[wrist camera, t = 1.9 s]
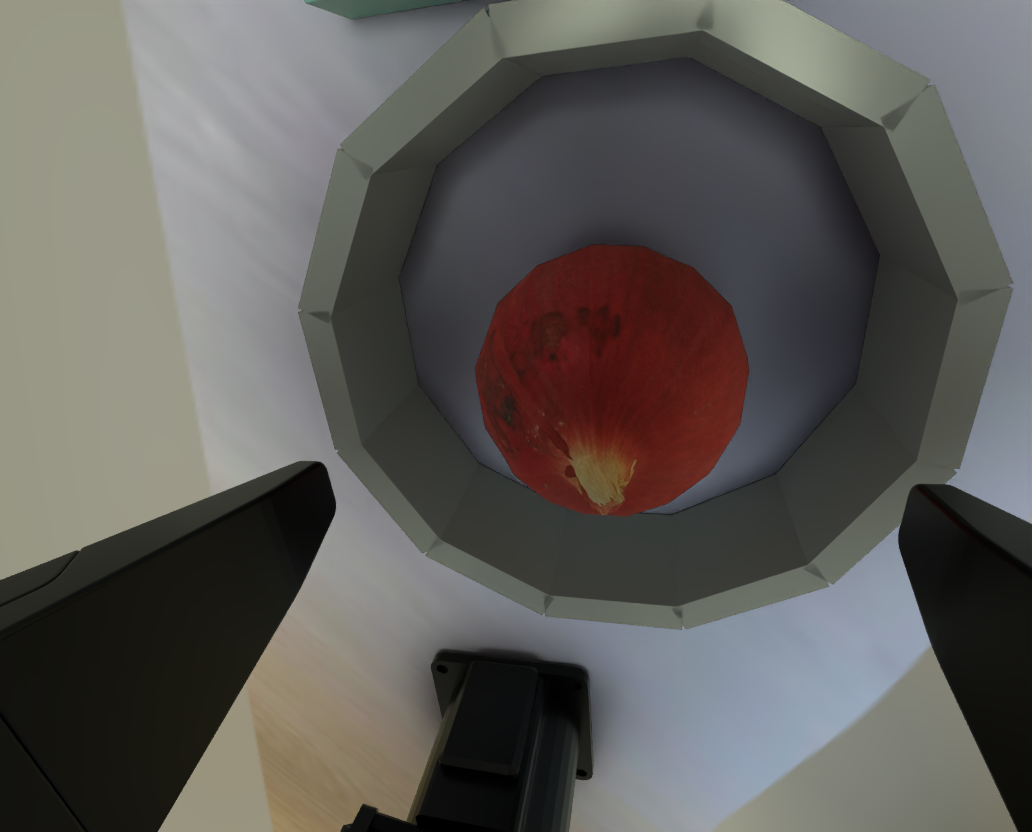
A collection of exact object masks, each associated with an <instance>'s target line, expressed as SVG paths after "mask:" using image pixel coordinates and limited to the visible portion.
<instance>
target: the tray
mask: <svg viewBox="0 0 1032 832" xmlns="http://www.w3.org/2000/svg"><path fill="white" fill-rule="evenodd" d="M304 1H305V3H307V4H310V5H312V6H315V7H318V8H321V9H324V10H326V11H329V12H332V13H335V14H338V15H341V16H343V17H346V18H349V19H357V18H363V17H369V16H375V15H381V14H387V13H393V12H399V11H405V10H411V9H417V8H423V7H429V6H435V5H441V4H447V3H453V2H459V1H465V0H304Z"/></svg>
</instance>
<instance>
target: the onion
mask: <svg viewBox="0 0 1032 832" xmlns="http://www.w3.org/2000/svg"><path fill="white" fill-rule="evenodd" d="M475 372H476V383H477V388H478V393H479V398H480V403H481V408H482V413H483V418H484V423H485V428H486V430H487V431H488V433H489V434H490V436H491V438H492V439H493V441H494V442H495V444H496V445H497V447H498V449H499V450H500V452H501V453H502V455H503V456H504V458H505V460H506V461H507V463H508V465H509V467H510V469H511V471H512V473H513V474H514V475H515V476H516V477H517V478H518V479H520V480H521V481H522V482H523V483H525V484H526V485H527V486H529V487H530V488H531V489H533V490H534V491H535V492H537V493H538V494H539V495H541V496H542V497H543V498H544V499H546V500H547V501H548V502H551V503H554V504H557V505H560V506H563V507H566V508H568V509H571V510H574V511H577V512H580V513H583V514H594V515H612V516H622V517H627V516H630V515H633V514H637V513H640V512H643V511H646V510H649V509H652V508H656V507H659V506H662V505H665V504H667V503H669V502H671V501H673V500H674V499H675V498H677V497H678V496H680V495H681V494H682V493H684V492H685V491H686V490H688V489H689V488H690V487H692V486H693V485H695V484H696V483H697V482H699V481H700V480H701V479H703V478H704V477H706V476H707V475H708V474H709V473H710V471H711V470H712V469H713V467H714V466H715V465H716V463H717V461H718V460H719V458H720V456H721V455H722V453H723V451H724V450H725V448H726V446H727V445H728V443H729V442H730V440H731V439H732V437H733V436H734V434H735V432H736V430H737V429H738V427H739V425H740V422H741V416H742V410H743V404H744V398H745V392H746V387H747V381H748V375H749V366H748V357H747V354H746V351H745V348H744V344H743V341H742V338H741V335H740V331H739V328H738V325H737V322H736V318H735V315H734V312H733V309H732V306H731V305H730V304H729V303H728V302H727V301H726V300H725V299H724V298H723V297H722V296H721V295H720V294H719V293H718V292H717V291H716V290H715V289H714V288H713V287H712V286H711V285H710V284H709V283H708V282H707V281H706V280H705V279H704V278H703V277H702V276H701V275H700V274H699V273H698V272H697V271H696V270H695V269H694V268H693V267H691V266H689V265H686V264H683V263H681V262H678V261H676V260H673V259H671V258H669V257H666V256H664V255H662V254H660V253H657V252H655V251H653V250H651V249H649V248H646V247H644V246H625V245H601V244H594V245H590V246H587V247H585V248H582V249H579V250H577V251H574V252H571V253H569V254H566V255H563V256H561V257H558V258H556V259H553V260H550V261H547V262H545V263H542V264H540V265H537V266H536V267H535V268H534V269H533V270H532V271H531V272H530V273H529V274H528V275H527V276H526V277H525V278H524V279H523V280H522V281H520V282H519V283H518V284H517V285H516V286H515V287H514V288H513V289H512V290H511V291H510V292H509V293H508V294H507V295H506V296H505V297H504V298H503V299H502V300H501V301H499V302H498V304H497V307H496V310H495V313H494V315H493V318H492V321H491V324H490V327H489V330H488V332H487V335H486V338H485V341H484V344H483V347H482V350H481V352H480V355H479V358H478V361H477V364H476V367H475Z"/></svg>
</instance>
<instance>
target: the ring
mask: <svg viewBox="0 0 1032 832" xmlns="http://www.w3.org/2000/svg"><path fill="white" fill-rule="evenodd" d="M488 6H489V11H488V10H486V9H485V8H482V9H481V10H480V11H479V12H478V13H477V14H476V15H475V16H473V17H472V18H471V19H470V20H469V21H468V22H467V23H466V24H465V25H464V26H463V27H462V28H461V29H460V30H459V31H458V32H457V33H456V34H455V35H454V36H453V37H452V38H451V39H450V40H448V41H447V42H446V43H445V44H444V45H443V46H442V47H441V48H440V49H439V50H438V51H437V52H436V53H435V54H434V55H433V56H432V57H431V58H430V59H429V60H428V61H427V62H426V63H425V64H424V65H422V66H421V67H420V68H419V69H418V70H417V71H416V72H415V73H414V74H413V75H412V76H411V77H410V78H409V79H408V80H407V81H406V82H405V83H404V84H403V85H402V86H401V87H400V88H399V89H397V90H396V91H395V92H394V93H393V94H392V95H391V96H390V97H389V98H388V99H387V100H386V101H385V102H384V103H383V104H382V105H381V106H380V107H379V108H378V109H377V110H376V111H375V112H374V113H372V114H371V115H370V116H369V117H368V118H367V119H366V120H365V121H364V122H363V123H362V124H361V125H360V126H359V127H358V128H357V129H356V130H355V131H354V132H353V133H352V134H351V135H350V136H349V137H347V138H346V139H345V140H344V141H343V142H342V143H341V144H340V145H341V147H342V148H343V149H338V150H337V154H336V158H335V162H334V166H333V170H332V174H331V178H330V182H329V186H328V190H327V194H326V198H325V202H324V206H323V210H322V214H321V218H320V222H319V226H318V230H317V234H316V238H315V242H314V246H313V250H312V254H311V258H310V262H309V266H308V270H307V274H306V278H305V282H304V286H303V290H302V294H301V298H300V302H299V307H298V308H299V309H301V310H302V311H300V312H298V313H299V317H300V321H301V325H302V328H303V332H304V336H305V339H306V343H307V347H308V351H309V354H310V358H311V362H312V366H313V369H314V373H315V377H316V381H317V384H318V388H319V392H320V395H321V399H322V403H323V407H324V410H325V414H326V418H327V422H328V425H329V429H330V433H331V436H332V440H333V444H334V448H335V450H339V451H338V452H337V454H338V455H339V456H340V457H341V458H342V460H343V461H344V462H345V463H346V464H347V465H348V467H349V468H350V469H351V470H352V471H353V472H354V474H355V475H356V476H357V477H358V478H359V480H360V481H361V482H362V483H363V484H364V485H365V487H366V488H367V489H368V490H369V491H370V492H371V494H372V495H373V496H374V497H375V498H376V500H377V501H378V502H379V503H380V504H381V505H382V507H383V508H384V509H385V510H386V511H387V512H388V514H389V515H390V516H391V517H392V518H393V520H394V521H395V522H396V523H397V524H398V525H399V527H400V528H401V529H402V530H403V531H404V532H405V534H406V535H407V536H408V537H409V538H410V540H411V541H412V542H413V543H414V544H415V545H416V547H417V548H418V549H419V550H420V551H421V552H422V553H425V552H427V553H426V555H425V556H427V557H429V558H431V559H433V560H435V561H437V562H439V563H440V564H442V565H444V566H446V567H448V568H450V569H452V570H454V571H456V572H458V573H460V574H462V575H464V576H466V577H468V578H470V579H472V580H474V581H476V582H478V583H480V584H482V585H484V586H486V587H487V588H489V589H491V590H493V591H495V592H497V593H499V594H501V595H503V596H505V597H507V598H509V599H511V600H513V601H515V602H517V603H519V604H521V605H523V606H525V607H527V608H529V609H531V610H533V611H535V612H536V613H538V614H540V615H543V613H544V612H545V616H547V617H557V618H568V619H578V620H588V621H598V622H608V623H618V624H629V625H639V626H649V627H659V628H669V629H680V630H682V625H683V626H684V627H685V629H689V628H692V627H696V626H699V625H702V624H706V623H709V622H712V621H716V620H719V619H722V618H726V617H729V616H732V615H736V614H739V613H742V612H746V611H749V610H753V609H756V608H759V607H763V606H766V605H769V604H773V603H776V602H779V601H783V600H786V599H789V598H793V597H796V596H799V595H803V594H806V593H809V592H813V591H816V590H820V589H823V588H826V587H829V585H828V582H829V583H831V584H834V583H835V582H836V581H837V580H839V579H840V578H841V577H842V576H843V575H844V574H845V573H846V572H847V571H849V570H850V569H851V568H852V567H853V566H854V565H855V564H856V563H857V562H859V561H860V560H861V559H862V558H863V557H864V556H865V555H866V554H867V553H869V552H870V551H871V550H872V549H873V548H874V547H875V546H876V545H877V544H878V543H880V542H881V541H882V540H883V539H884V538H885V537H886V536H887V535H888V534H890V533H891V532H892V531H893V530H894V529H895V528H896V527H897V526H898V525H900V524H901V521H902V517H903V513H904V510H905V506H906V502H907V498H908V494H909V492H910V490H911V488H912V487H913V486H914V485H916V484H945V483H946V482H947V481H948V480H949V479H951V478H952V477H953V476H954V475H955V474H956V473H957V472H956V471H955V470H954V469H960V466H961V462H962V459H963V455H964V452H965V449H966V445H967V442H968V439H969V435H970V432H971V429H972V425H973V422H974V418H975V415H976V412H977V408H978V405H979V402H980V398H981V395H982V392H983V388H984V385H985V382H986V378H987V375H988V371H989V368H990V365H991V361H992V358H993V355H994V351H995V348H996V345H997V341H998V338H999V334H1000V331H1001V328H1002V324H1003V321H1004V318H1005V314H1006V311H1007V308H1008V304H1009V301H1010V297H1011V294H1012V291H1013V288H1011V287H1008V285H1010V284H1012V283H1013V282H1012V279H1011V277H1010V274H1009V272H1008V269H1007V267H1006V264H1005V262H1004V259H1003V257H1002V254H1001V251H1000V249H999V246H998V244H997V241H996V239H995V236H994V234H993V231H992V229H991V226H990V224H989V221H988V219H987V216H986V213H985V211H984V208H983V206H982V203H981V201H980V198H979V196H978V193H977V191H976V188H975V186H974V183H973V181H972V178H971V175H970V173H969V170H968V168H967V165H966V163H965V160H964V158H963V155H962V153H961V150H960V148H959V145H958V143H957V140H956V138H955V135H954V132H953V130H952V127H951V125H950V122H949V120H948V117H947V115H946V112H945V110H944V107H943V105H942V102H941V100H940V97H939V94H938V92H937V89H936V87H935V85H929V86H926V85H927V84H928V83H929V81H930V79H928V78H926V77H924V76H922V75H920V74H918V73H917V72H915V71H913V70H911V69H909V68H907V67H905V66H904V65H902V64H900V63H898V62H896V61H894V60H892V59H891V58H889V57H887V56H885V55H883V54H881V53H879V52H877V51H876V50H874V49H872V48H870V47H868V46H866V45H864V44H863V43H861V42H859V41H857V40H855V39H853V38H851V37H850V36H848V35H846V34H844V33H842V32H840V31H838V30H836V29H835V28H833V27H831V26H829V25H827V24H825V23H823V22H822V21H820V20H818V19H816V18H814V17H812V16H810V15H809V14H807V13H805V12H803V11H801V10H799V9H797V8H795V7H794V6H792V5H790V4H788V3H786V2H784V1H782V0H513V1H507V2H501V3H495V4H488ZM685 57H690V58H692V59H694V60H696V61H698V62H700V63H702V64H703V65H705V66H707V67H709V68H711V69H713V70H715V71H717V72H718V73H720V74H722V75H724V76H726V77H728V78H730V79H732V80H733V81H735V82H737V83H739V84H741V85H743V86H745V87H747V88H748V89H750V90H752V91H754V92H756V93H758V94H760V95H762V96H763V97H765V98H767V99H769V100H771V101H773V102H775V103H777V104H778V105H780V106H782V107H784V108H786V109H788V110H790V111H792V112H793V113H795V114H797V115H799V116H801V117H803V118H805V119H807V120H808V121H810V122H812V123H814V124H816V125H818V126H820V127H821V128H822V130H823V132H824V135H825V137H826V139H827V141H828V143H829V145H830V148H831V150H832V152H833V154H834V156H835V158H836V161H837V163H838V165H839V167H840V169H841V171H842V174H843V176H844V178H845V180H846V182H847V184H848V187H849V189H850V191H851V193H852V195H853V197H854V200H855V202H856V204H857V206H858V208H859V210H860V213H861V215H862V217H863V219H864V221H865V223H866V226H867V228H868V230H869V232H870V234H871V236H872V239H873V241H874V243H875V245H876V247H877V249H878V252H879V254H880V259H879V264H878V270H877V275H876V280H875V286H874V291H873V296H872V302H871V307H870V312H869V318H868V323H867V328H866V333H865V339H864V344H863V349H862V355H861V360H860V365H859V371H858V376H857V381H856V384H855V385H854V387H853V388H852V389H851V390H850V391H849V392H848V393H847V394H846V396H845V397H844V398H843V399H842V400H841V401H840V402H839V403H838V405H837V406H836V407H835V408H834V409H833V410H832V411H831V412H830V414H829V415H828V416H827V417H826V418H825V419H824V420H823V421H822V423H821V424H820V425H819V426H818V427H817V428H816V429H815V431H814V432H813V433H812V434H811V435H810V436H809V437H808V438H807V440H806V441H805V442H804V443H803V444H802V445H801V446H800V447H799V449H798V450H797V451H796V452H795V453H794V454H793V455H792V456H791V458H790V459H789V460H788V461H787V462H786V463H785V464H784V465H783V467H782V468H781V469H780V470H779V471H778V472H777V473H776V474H775V475H772V476H770V477H767V478H764V479H762V480H759V481H757V482H754V483H752V484H749V485H747V486H744V487H742V488H739V489H737V490H734V491H732V492H729V493H727V494H724V495H722V496H719V497H716V498H714V499H711V500H709V501H706V502H704V503H701V504H699V505H696V506H694V507H691V508H689V509H686V510H684V511H681V512H679V513H676V514H673V515H664V514H645V513H637V514H633V515H630V516H627V517H622V516H612V515H594V514H583V513H580V512H577V511H574V510H569V509H567V508H565V507H563V506H560V505H557V504H554V503H551V502H548V501H547V500H546V499H544V498H543V497H542V496H541V495H539V494H538V493H536V492H534V491H532V490H530V489H528V488H526V487H524V486H522V485H520V484H518V483H516V482H514V481H512V480H510V479H508V478H506V477H504V476H503V475H501V474H499V473H497V472H495V471H493V470H491V469H489V468H487V467H485V466H483V465H481V464H479V462H478V461H477V460H476V458H475V457H474V456H473V455H472V453H471V452H470V451H469V449H468V448H467V447H466V445H465V444H464V443H463V442H462V440H461V439H460V438H459V436H458V435H457V434H456V432H455V431H454V430H453V429H452V427H451V426H450V425H449V423H448V422H447V421H446V419H445V418H444V417H443V415H442V414H441V413H440V412H439V410H438V409H437V408H436V406H435V405H434V404H433V402H432V401H431V400H430V399H429V397H428V396H427V395H426V393H425V392H424V391H423V389H422V388H421V387H420V386H419V384H418V381H417V376H416V370H415V365H414V359H413V354H412V348H411V343H410V337H409V332H408V326H407V321H406V315H405V310H404V304H403V299H402V294H401V288H400V283H399V275H400V272H401V270H402V267H403V264H404V261H405V258H406V255H407V252H408V249H409V246H410V243H411V240H412V237H413V234H414V231H415V228H416V226H417V223H418V220H419V217H420V214H421V211H422V208H423V205H424V202H425V199H426V196H427V193H428V190H429V187H430V184H431V182H432V179H433V176H434V173H435V170H436V167H437V164H438V163H439V162H441V161H442V160H443V159H444V158H445V157H446V156H448V155H449V154H450V153H451V152H452V151H454V150H455V149H456V148H457V147H458V146H460V145H461V144H462V143H463V142H464V141H465V140H467V139H468V138H469V137H470V136H471V135H473V134H474V133H475V132H476V131H477V130H478V129H480V128H481V127H482V126H483V125H484V124H486V123H487V122H488V121H489V120H490V119H491V118H493V117H494V116H495V115H496V114H497V113H499V112H500V111H501V110H502V109H503V108H504V107H506V106H507V105H508V104H509V103H510V102H512V101H513V100H514V99H515V98H516V97H517V96H519V95H520V94H521V93H522V92H523V91H525V90H526V89H527V88H528V87H529V86H530V85H532V84H533V83H534V82H535V81H536V80H538V79H539V78H540V77H541V76H546V75H553V74H561V73H569V72H577V71H584V70H592V69H600V68H608V67H615V66H623V65H631V64H639V63H646V62H654V61H662V60H670V59H677V58H685Z"/></svg>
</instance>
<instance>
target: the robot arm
mask: <svg viewBox="0 0 1032 832" xmlns="http://www.w3.org/2000/svg"><path fill="white" fill-rule="evenodd" d="M335 511H336V500H335V496H334V493H333V489H332V486H331V482H330V478H329V475H328V471H327V468H326V467H325V465H324V464H323V463H321V462H317V461H298V462H296V463H293V464H291V465H288V466H286V467H283V468H281V469H278V470H276V471H273V472H271V473H268V474H266V475H263V476H261V477H258V478H256V479H253V480H251V481H248V482H246V483H243V484H241V485H238V486H236V487H233V488H231V489H228V490H226V491H223V492H221V493H218V494H216V495H213V496H211V497H208V498H206V499H203V500H201V501H198V502H196V503H193V504H191V505H188V506H186V507H183V508H181V509H178V510H176V511H173V512H171V513H169V514H166V515H163V516H161V517H158V518H156V519H154V520H151V521H148V522H146V523H143V524H141V525H139V526H136V527H133V528H131V529H128V530H126V531H123V532H121V533H118V534H116V535H114V536H111V537H109V538H106V539H104V540H101V541H98V542H96V543H93V544H91V545H89V546H86V547H84V548H82V549H81V550H80V551H77V550H76V551H73V552H71V553H68V554H66V555H63V556H61V557H59V558H56V559H53V560H51V561H48V562H46V563H43V564H40V565H38V566H36V567H33V568H30V569H28V570H25V571H23V572H20V573H17V574H15V575H12V576H10V577H7V578H5V579H2V580H0V832H158V830H159V828H160V827H161V825H162V823H163V822H164V820H165V818H166V817H167V815H168V813H169V812H170V810H171V808H172V807H173V805H174V803H175V801H176V800H177V798H178V796H179V795H180V793H181V791H182V790H183V788H184V786H185V784H186V783H187V781H188V779H189V778H190V776H191V774H192V773H193V771H194V769H195V768H196V766H197V764H198V762H199V761H200V759H201V757H202V756H203V754H204V752H205V751H206V749H207V747H208V745H209V744H210V742H211V740H212V739H213V737H214V735H215V734H216V732H217V730H218V728H219V727H220V725H221V723H222V722H223V720H224V718H225V717H226V715H227V713H228V711H229V710H230V708H231V706H232V705H233V703H234V701H235V699H236V698H237V696H238V694H239V693H240V691H241V689H242V688H243V686H244V684H245V683H246V681H247V679H248V677H249V676H250V674H251V672H252V671H253V669H254V667H255V666H256V664H257V662H258V660H259V659H260V657H261V655H262V654H263V652H264V650H265V649H266V647H267V645H268V643H269V642H270V640H271V638H272V637H273V635H274V633H275V632H276V630H277V628H278V627H279V625H280V623H281V621H282V620H283V618H284V616H285V615H286V613H287V611H288V610H289V608H290V606H291V604H292V603H293V601H294V599H295V597H296V596H297V594H298V592H299V590H300V588H301V586H302V584H303V582H304V580H305V578H306V576H307V574H308V572H309V570H310V568H311V565H312V563H313V561H314V559H315V557H316V554H317V552H318V550H319V548H320V546H321V544H322V541H323V539H324V537H325V535H326V533H327V531H328V528H329V526H330V524H331V522H332V520H333V517H334V515H335ZM898 543H899V549H900V552H901V555H902V558H903V561H904V564H905V568H906V571H907V574H908V577H909V580H910V583H911V586H912V589H913V592H914V595H915V598H916V601H917V604H918V607H919V610H920V613H921V616H922V619H923V622H924V626H925V629H926V632H927V634H928V637H929V640H930V643H931V645H932V648H933V650H934V653H935V655H936V657H937V660H938V662H939V664H940V667H941V669H942V671H943V673H944V675H945V677H946V679H947V681H948V684H949V686H950V688H951V690H952V692H953V694H954V696H955V698H956V701H957V703H958V705H959V707H960V709H961V711H962V714H963V716H964V718H965V720H966V722H967V724H968V726H969V729H970V731H971V733H972V735H973V737H974V739H975V741H976V744H977V746H978V748H979V750H980V752H981V754H982V756H983V758H984V760H985V763H986V765H987V767H988V769H989V771H990V773H991V776H992V777H993V780H994V782H995V784H996V786H997V788H998V790H999V793H1000V795H1001V797H1002V799H1003V801H1004V803H1005V805H1006V808H1007V810H1008V812H1009V814H1010V816H1011V818H1012V820H1013V823H1014V824H1015V827H1016V829H1017V831H1018V832H1032V524H1031V523H1029V522H1026V521H1024V520H1022V519H1020V518H1018V517H1016V516H1014V515H1012V514H1010V513H1008V512H1006V511H1004V510H1001V509H999V508H997V507H995V506H993V505H991V504H989V503H987V502H985V501H983V500H981V499H979V498H976V497H974V496H972V495H970V494H968V493H966V492H964V491H962V490H960V489H958V488H956V487H954V486H951V485H946V484H916V485H914V486H913V487H912V488H911V490H910V492H909V494H908V498H907V502H906V506H905V510H904V513H903V517H902V521H901V525H900V529H899V534H898ZM431 670H432V674H433V679H434V683H435V688H436V692H437V696H438V701H439V705H440V710H441V714H442V718H443V720H442V723H441V726H440V728H439V731H438V734H437V737H436V740H435V742H434V745H433V748H432V751H431V754H430V756H429V759H428V762H427V765H426V768H425V770H424V773H423V776H422V779H421V782H420V784H419V787H418V790H417V793H416V796H415V798H414V801H413V804H412V807H411V810H410V812H409V815H408V818H407V821H403V820H400V819H397V818H394V817H391V816H388V815H385V814H383V813H380V812H378V808H375V807H372V806H369V805H366V804H363V805H362V806H361V808H360V810H359V812H358V814H357V816H356V818H355V820H354V822H353V824H348V825H343V827H342V829H341V832H569V828H570V820H571V811H572V803H573V795H574V787H575V779H579V780H588V779H590V778H592V775H593V766H594V765H593V745H592V726H591V706H590V686H589V677H588V675H587V674H586V673H585V672H584V671H582V670H580V669H576V668H568V667H560V666H551V665H543V664H534V663H526V662H517V661H509V660H501V659H492V658H484V657H475V656H467V655H458V654H450V653H438V654H436V655H435V657H434V659H433V661H432V664H431Z"/></svg>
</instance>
